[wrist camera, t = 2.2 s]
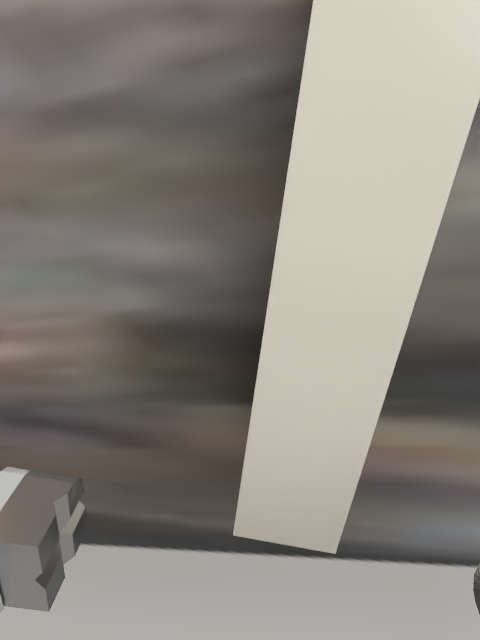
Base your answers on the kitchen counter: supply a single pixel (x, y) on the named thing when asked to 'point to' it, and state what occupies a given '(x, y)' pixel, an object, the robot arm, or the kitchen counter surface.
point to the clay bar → (352, 249)
